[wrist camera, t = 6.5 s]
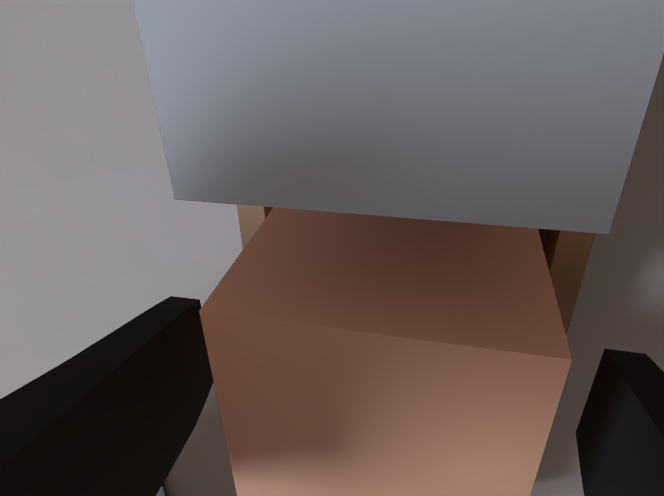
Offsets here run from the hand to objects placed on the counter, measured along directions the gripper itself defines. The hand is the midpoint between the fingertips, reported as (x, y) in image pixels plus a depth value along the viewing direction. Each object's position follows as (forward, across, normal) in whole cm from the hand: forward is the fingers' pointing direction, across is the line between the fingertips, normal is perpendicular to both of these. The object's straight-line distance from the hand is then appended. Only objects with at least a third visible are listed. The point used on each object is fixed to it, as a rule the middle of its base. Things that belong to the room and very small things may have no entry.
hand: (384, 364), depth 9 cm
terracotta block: (+4, 0, 0) cm, 4 cm away
